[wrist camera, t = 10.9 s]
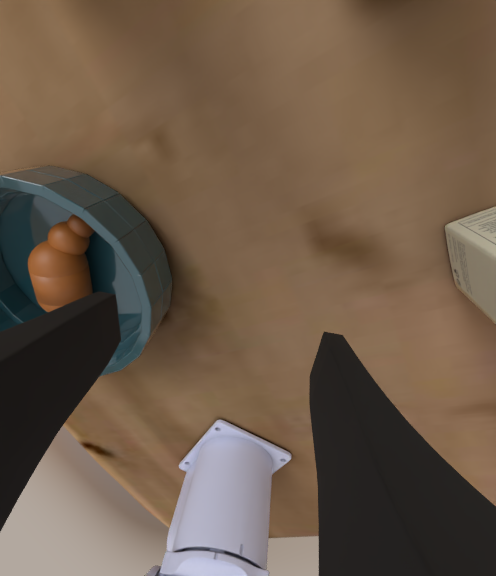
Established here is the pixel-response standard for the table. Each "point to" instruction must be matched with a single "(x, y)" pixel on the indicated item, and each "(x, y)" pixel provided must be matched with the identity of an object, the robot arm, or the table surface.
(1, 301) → the bowl
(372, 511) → the robot arm
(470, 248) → the cosmetic box
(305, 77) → the table surface
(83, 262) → the croissant
